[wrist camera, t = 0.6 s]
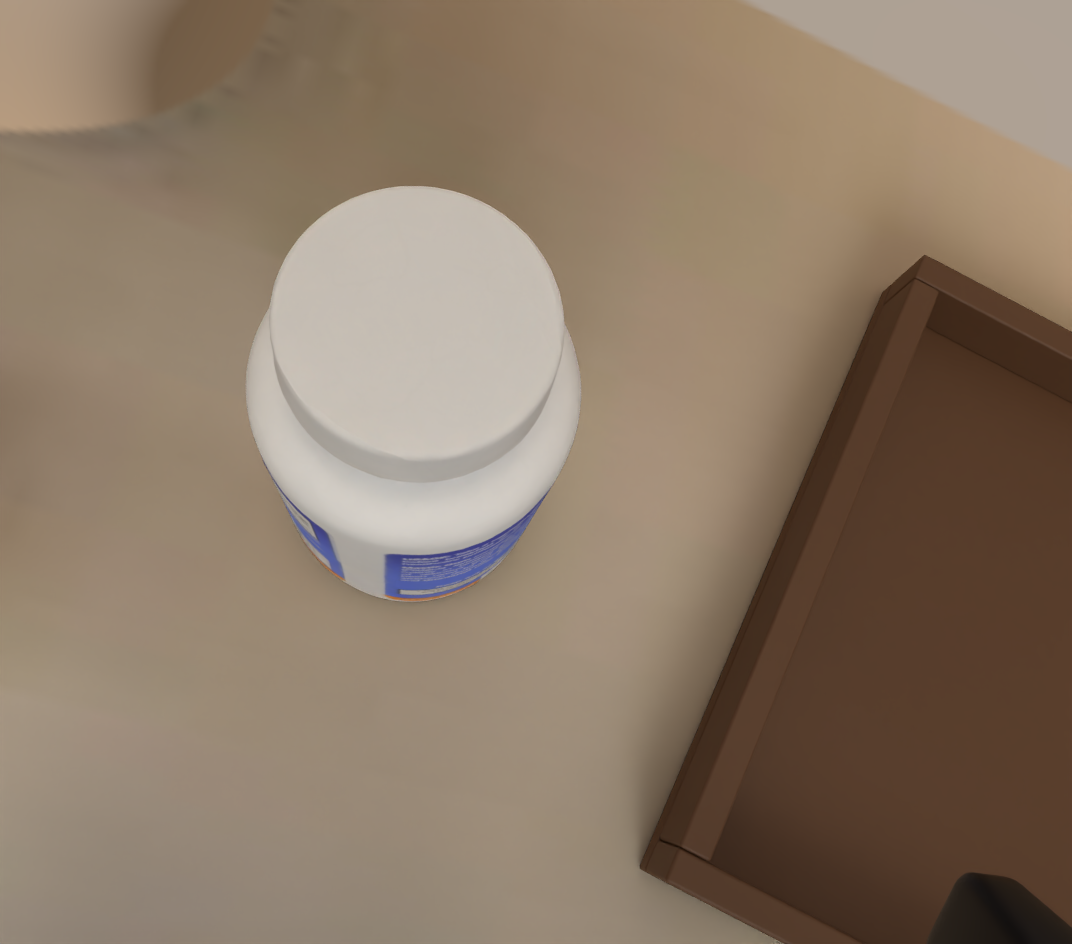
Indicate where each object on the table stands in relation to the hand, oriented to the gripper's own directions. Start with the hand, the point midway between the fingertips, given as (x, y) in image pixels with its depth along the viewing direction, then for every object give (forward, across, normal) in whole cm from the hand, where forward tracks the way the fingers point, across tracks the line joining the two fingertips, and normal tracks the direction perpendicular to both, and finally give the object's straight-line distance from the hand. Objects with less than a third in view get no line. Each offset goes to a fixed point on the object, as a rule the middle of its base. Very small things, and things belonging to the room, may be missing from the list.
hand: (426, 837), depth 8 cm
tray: (+13, -14, +6) cm, 20 cm away
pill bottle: (+14, +1, +4) cm, 15 cm away
